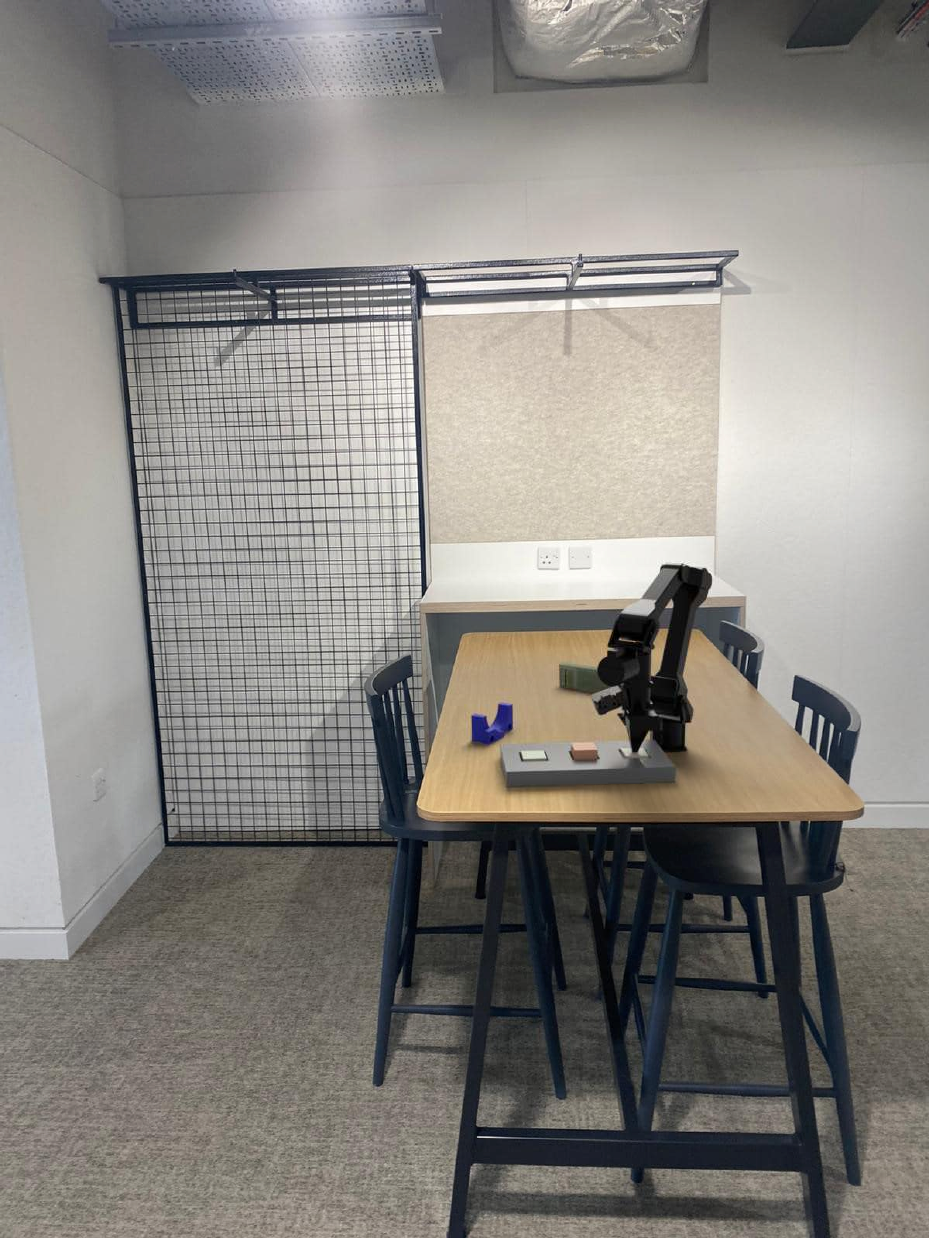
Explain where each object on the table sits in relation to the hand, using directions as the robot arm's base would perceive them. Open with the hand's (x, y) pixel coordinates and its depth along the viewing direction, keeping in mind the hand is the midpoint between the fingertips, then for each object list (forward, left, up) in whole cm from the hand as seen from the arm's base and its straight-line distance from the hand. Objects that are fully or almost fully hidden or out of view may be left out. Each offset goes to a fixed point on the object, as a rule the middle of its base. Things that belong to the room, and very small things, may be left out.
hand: (634, 751), depth 170 cm
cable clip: (+26, -23, -4) cm, 35 cm away
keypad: (+10, 0, -3) cm, 11 cm away
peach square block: (+10, 0, 0) cm, 10 cm away
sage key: (+20, 0, -2) cm, 20 cm away
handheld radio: (-4, -56, -4) cm, 57 cm away
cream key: (0, 0, -2) cm, 2 cm away
